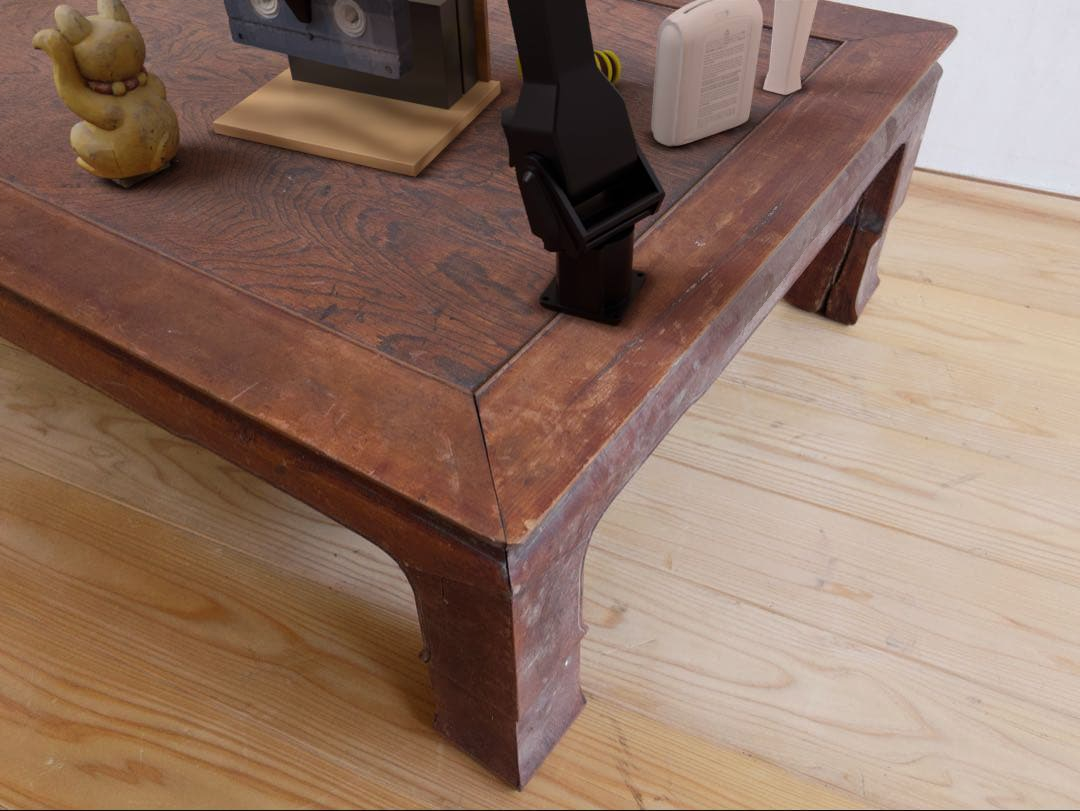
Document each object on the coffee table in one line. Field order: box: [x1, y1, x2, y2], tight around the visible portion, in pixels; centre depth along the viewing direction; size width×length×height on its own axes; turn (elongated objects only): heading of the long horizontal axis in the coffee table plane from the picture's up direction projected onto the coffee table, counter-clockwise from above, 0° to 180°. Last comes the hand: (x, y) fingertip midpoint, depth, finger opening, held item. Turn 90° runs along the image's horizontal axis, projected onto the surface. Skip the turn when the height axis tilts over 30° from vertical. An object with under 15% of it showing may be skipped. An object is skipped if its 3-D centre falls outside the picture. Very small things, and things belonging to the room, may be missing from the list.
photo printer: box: [650, 0, 764, 147], centre depth 89 cm, size 10×4×12 cm, turn 123°
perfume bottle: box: [762, 0, 819, 96], centre depth 95 cm, size 5×4×15 cm
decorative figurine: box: [31, 0, 181, 189], centre depth 85 cm, size 10×8×15 cm
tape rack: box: [212, 0, 502, 178], centre depth 93 cm, size 18×22×11 cm
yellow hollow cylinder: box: [516, 49, 622, 86], centre depth 99 cm, size 10×5×5 cm, turn 58°
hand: (314, 16), depth 85 cm, fingers closed on vhs cassette tape, 2 cm apart
